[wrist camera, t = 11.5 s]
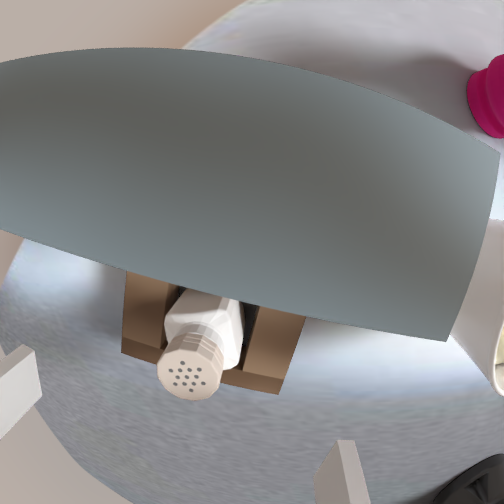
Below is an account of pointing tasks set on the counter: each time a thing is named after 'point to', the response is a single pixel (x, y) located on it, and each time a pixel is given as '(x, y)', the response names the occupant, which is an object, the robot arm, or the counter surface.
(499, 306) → the candle holder
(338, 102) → the socket stand
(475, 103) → the pepper mill
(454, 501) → the robot arm
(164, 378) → the salt shaker
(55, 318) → the counter surface
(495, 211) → the counter surface
